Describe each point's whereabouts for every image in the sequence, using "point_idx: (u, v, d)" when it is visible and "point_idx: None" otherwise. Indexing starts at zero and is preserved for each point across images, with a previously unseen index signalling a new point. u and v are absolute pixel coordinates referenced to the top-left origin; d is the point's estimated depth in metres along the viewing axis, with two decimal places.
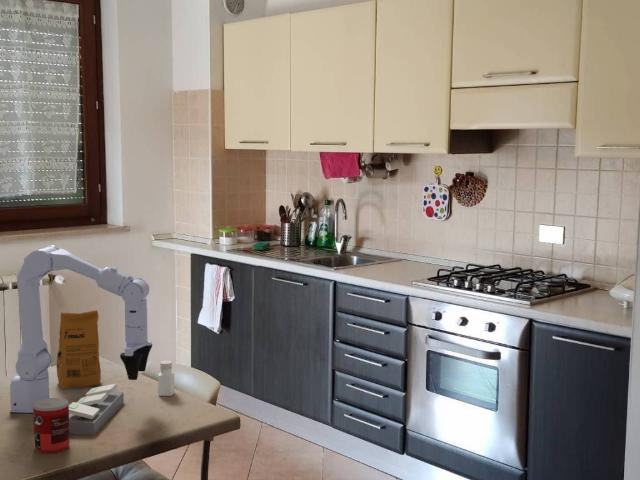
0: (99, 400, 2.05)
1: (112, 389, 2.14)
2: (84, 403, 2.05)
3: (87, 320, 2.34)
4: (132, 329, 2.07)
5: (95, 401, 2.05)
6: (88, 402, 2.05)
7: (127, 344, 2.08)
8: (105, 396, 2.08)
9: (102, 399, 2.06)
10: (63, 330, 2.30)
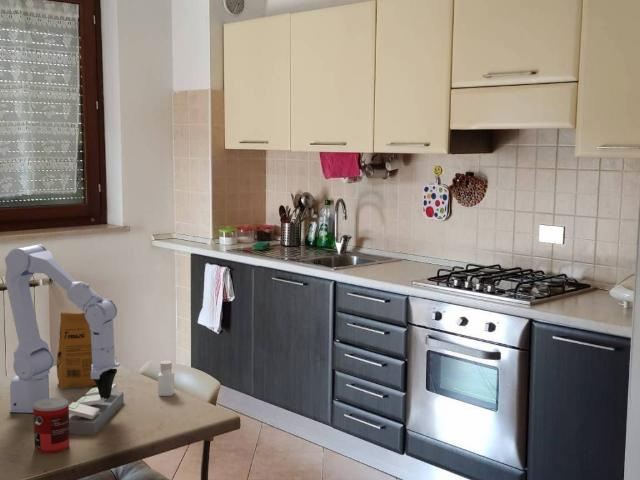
0: (99, 401, 2.05)
1: (112, 389, 2.14)
2: (84, 403, 2.05)
3: None
4: (98, 351, 2.03)
5: (95, 401, 2.05)
6: (88, 402, 2.05)
7: (94, 367, 2.04)
8: None
9: (102, 400, 2.06)
10: (63, 330, 2.30)
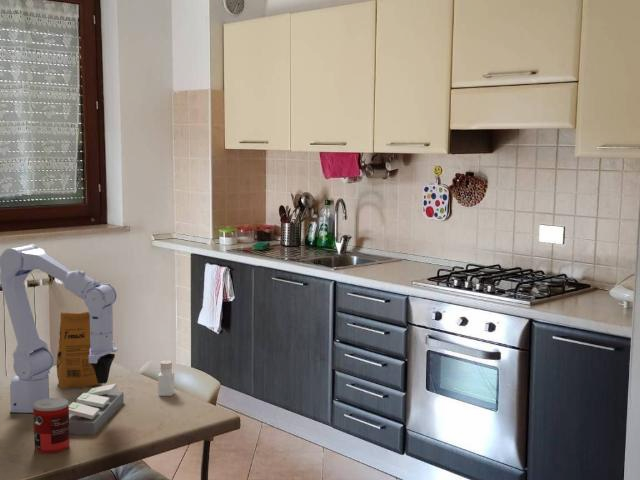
0: (101, 404, 2.05)
1: (112, 389, 2.14)
2: (86, 402, 2.05)
3: (87, 320, 2.34)
4: (97, 336, 2.02)
5: (97, 404, 2.05)
6: (90, 402, 2.05)
7: (92, 351, 2.03)
8: (107, 401, 2.08)
9: (104, 404, 2.06)
10: (63, 330, 2.30)
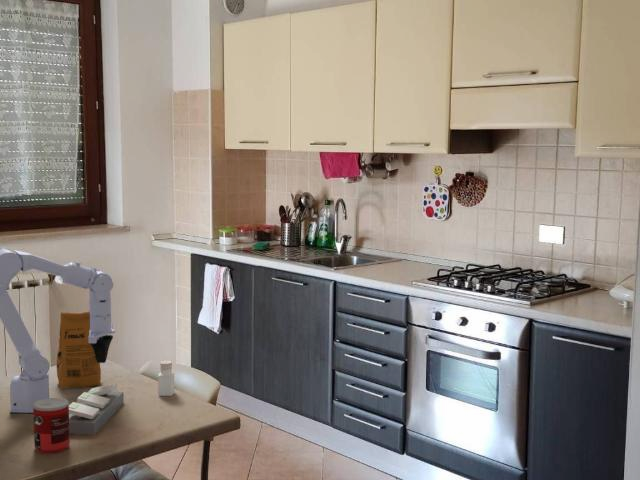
0: (101, 405, 2.05)
1: (112, 389, 2.14)
2: (86, 401, 2.05)
3: (87, 320, 2.34)
4: (96, 318, 2.17)
5: (97, 404, 2.05)
6: (90, 402, 2.05)
7: (91, 332, 2.18)
8: (107, 402, 2.08)
9: (104, 405, 2.06)
10: (63, 330, 2.30)
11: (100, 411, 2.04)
